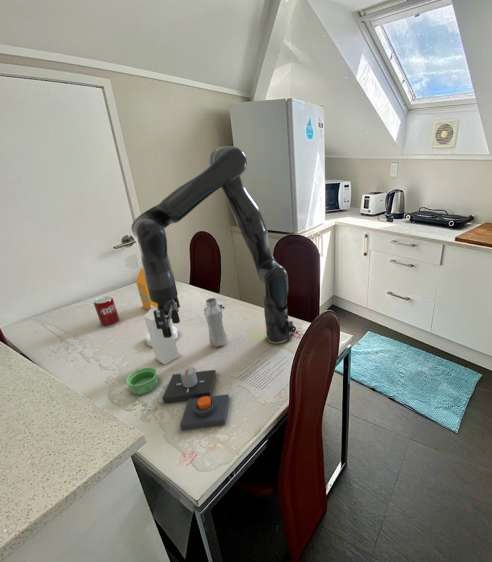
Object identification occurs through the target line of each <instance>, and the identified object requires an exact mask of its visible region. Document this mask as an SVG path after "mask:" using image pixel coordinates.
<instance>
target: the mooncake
mask: <svg viewBox="0 0 492 562" xmlns="http://www.w3.org/2000/svg"><path fill="white" fill-rule="evenodd" d="M172 329H173V333H174V337H175V340H177V339H178V337H179V332H178V328H177V327H176V326H174V325H172ZM144 339H145V343H146V345H147V346H149V347H151V348H153V346H152V342H151V339H150V335H149V332H148V331H147V332H146V334H145V335H144Z"/></svg>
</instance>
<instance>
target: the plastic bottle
mask: <svg viewBox="0 0 492 562" xmlns="http://www.w3.org/2000/svg"><path fill="white" fill-rule="evenodd" d="M205 306H206V308H205V309H204V313H203V315H204V317H205V320H206V323H207V327H208V334H209V335H208V337H209V343H210V345H211V346H213V347H222V346H225V344H226V343H227V341H228V336H227V333H226V332H225V331H226V330H225V328H224V324H223V323H224V322H223V311H222V309H221V307H220V306H219V305H218V302H217V298H214V297H210V298H207V299H206V300H205Z"/></svg>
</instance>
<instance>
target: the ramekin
mask: <svg viewBox="0 0 492 562" xmlns="http://www.w3.org/2000/svg"><path fill="white" fill-rule="evenodd" d="M158 382H159V380H158V371H157V369H156V368H155V367H151V366H150V367H148V366H147V367H142V368H139V369H137V370H134V371H133V372H131V373H130V374H129V375H128V376H127V377H126V379H125V384H126V385H127V386H128V388H129V390H130V392H131V393H132V394H134V395H144V394H147V393H150V392H151V391H153V390H154V389H155V388H156V387H157V385H158V384H159V383H158Z"/></svg>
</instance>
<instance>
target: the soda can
mask: <svg viewBox="0 0 492 562" xmlns="http://www.w3.org/2000/svg"><path fill="white" fill-rule="evenodd" d="M93 306H94V308H95V309H94V310H95V312H96V314H97V317H98V320H99V323H100V325H101V326H102V327H105V328H106V327H112V326H115V325H117V324H118V323H119V322H120V316H119V313H118V311H117V307H116V304H115V301H114V298H113V297H112V296H102V297H98V298H96V299H94V301H93Z"/></svg>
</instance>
